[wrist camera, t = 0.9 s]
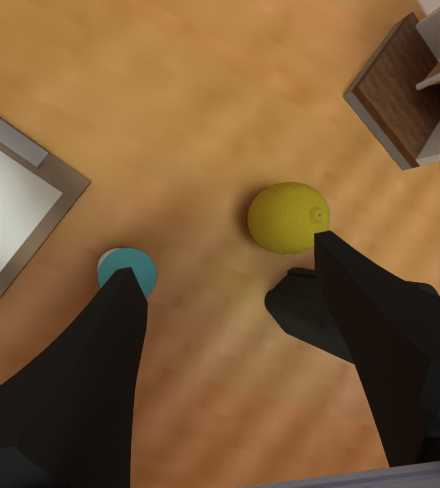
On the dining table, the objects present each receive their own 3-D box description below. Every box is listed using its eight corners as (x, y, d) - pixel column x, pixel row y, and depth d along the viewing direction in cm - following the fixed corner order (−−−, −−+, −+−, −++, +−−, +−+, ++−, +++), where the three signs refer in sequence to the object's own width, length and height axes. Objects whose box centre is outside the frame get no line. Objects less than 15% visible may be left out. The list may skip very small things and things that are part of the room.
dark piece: (296, 262, 30) (960, 325, 7) (324, 301, 32) (969, 462, 8) (259, 300, 29) (939, 531, 6) (290, 340, 30) (954, 659, 7)
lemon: (223, 238, 28) (272, 236, 20) (246, 179, 28) (301, 157, 21) (275, 262, 30) (337, 268, 22) (295, 207, 30) (361, 195, 23)
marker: (121, 294, 25) (135, 315, 17) (86, 272, 24) (85, 285, 16) (144, 260, 25) (167, 268, 18) (111, 238, 24) (120, 236, 17)
